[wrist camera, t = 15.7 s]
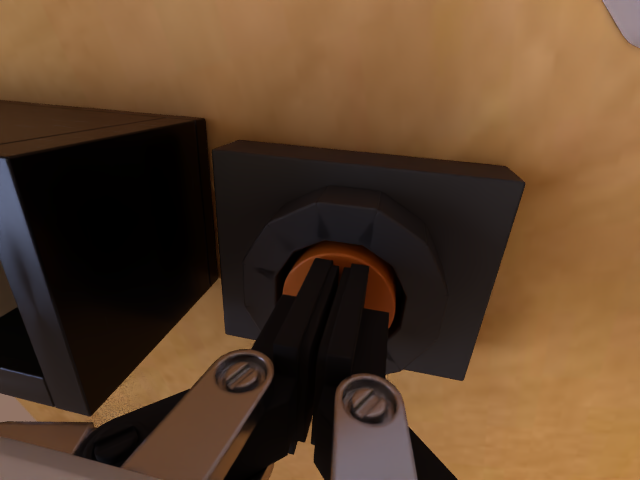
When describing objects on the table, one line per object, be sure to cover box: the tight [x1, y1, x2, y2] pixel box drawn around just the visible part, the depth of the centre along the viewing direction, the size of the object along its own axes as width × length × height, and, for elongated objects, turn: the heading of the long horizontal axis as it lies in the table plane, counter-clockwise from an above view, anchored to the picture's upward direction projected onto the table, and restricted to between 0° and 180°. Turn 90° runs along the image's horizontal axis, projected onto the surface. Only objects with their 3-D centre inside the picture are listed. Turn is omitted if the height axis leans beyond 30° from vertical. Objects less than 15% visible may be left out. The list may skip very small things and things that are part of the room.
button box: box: [212, 140, 525, 381], centre depth 13 cm, size 10×8×4 cm
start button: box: [283, 240, 396, 329], centre depth 12 cm, size 4×4×2 cm
